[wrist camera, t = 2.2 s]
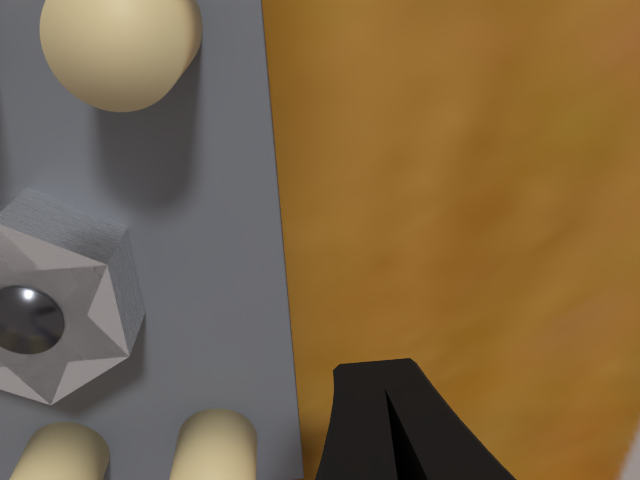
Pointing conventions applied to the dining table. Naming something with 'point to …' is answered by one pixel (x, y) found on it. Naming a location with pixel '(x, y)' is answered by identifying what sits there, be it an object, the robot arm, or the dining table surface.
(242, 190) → the board
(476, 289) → the dining table surface
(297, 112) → the dining table surface
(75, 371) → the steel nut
